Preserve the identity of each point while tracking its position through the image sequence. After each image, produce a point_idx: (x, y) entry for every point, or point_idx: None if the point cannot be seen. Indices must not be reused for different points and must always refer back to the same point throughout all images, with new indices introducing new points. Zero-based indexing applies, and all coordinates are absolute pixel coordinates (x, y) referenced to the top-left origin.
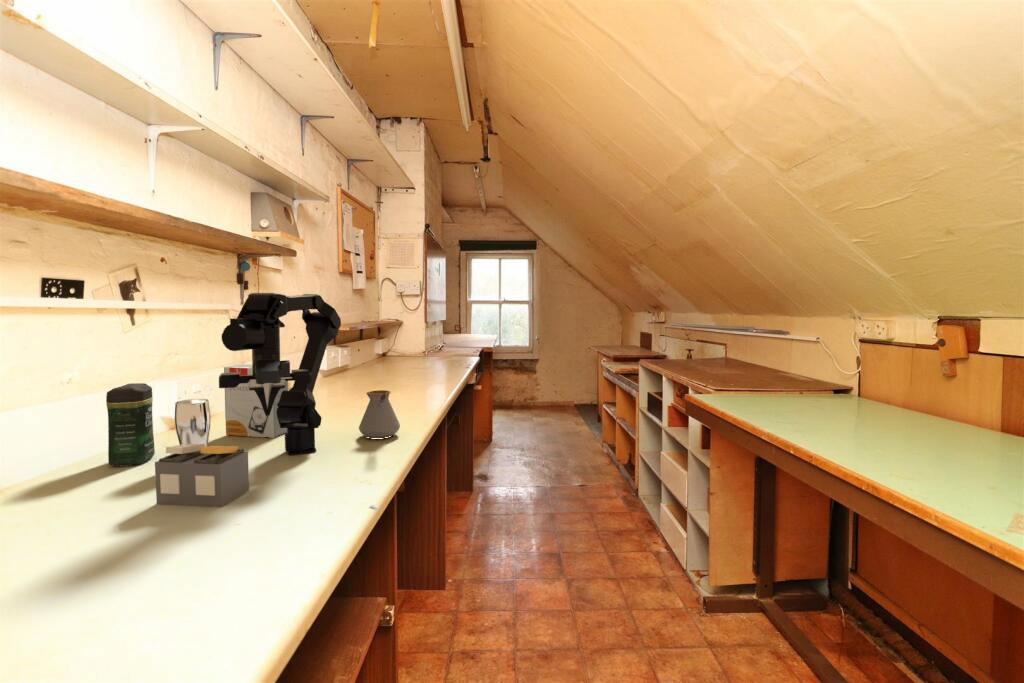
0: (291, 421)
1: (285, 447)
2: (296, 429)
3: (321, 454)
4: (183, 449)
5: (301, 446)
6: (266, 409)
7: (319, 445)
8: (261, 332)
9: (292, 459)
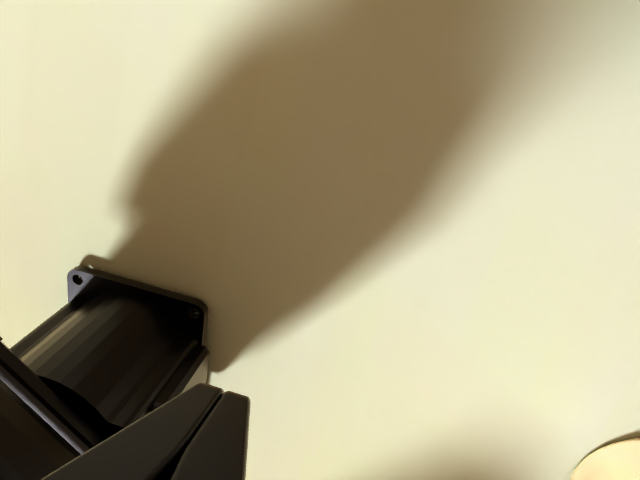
0: (63, 444)
1: (201, 372)
2: (79, 399)
3: (57, 204)
4: None
5: (123, 312)
6: (198, 453)
7: None
8: None
9: (206, 226)
